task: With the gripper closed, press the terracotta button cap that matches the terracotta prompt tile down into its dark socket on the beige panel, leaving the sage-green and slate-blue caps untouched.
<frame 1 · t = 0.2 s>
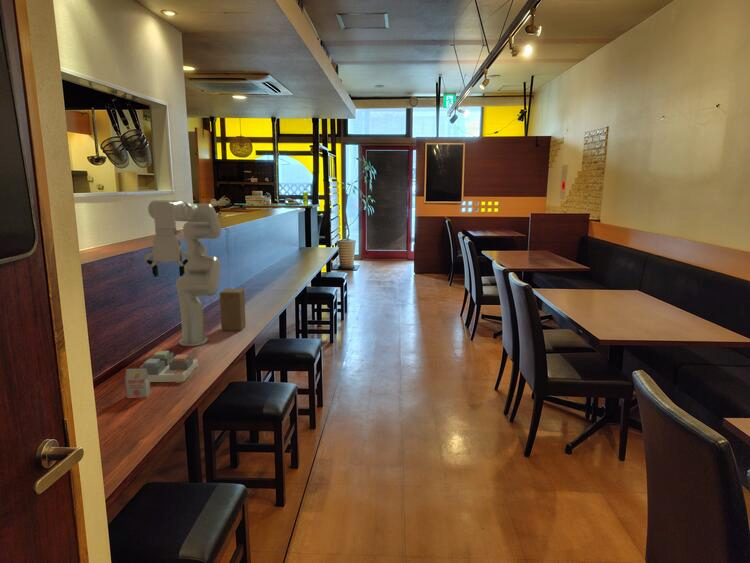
hand: (169, 276, 190), 36 cm above the table, tool pointing down, fingers open, 9 cm apart
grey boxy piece: (138, 396, 165), on the table
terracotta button: (181, 359, 183), point 6 cm above the table, slide at 0.0 cm
sage button: (161, 355, 187), point 6 cm above the table, slide at 0.0 cm
slate button: (152, 363, 178), point 6 cm above the table, slide at 0.0 cm
wooden block: (233, 328, 244), on the table
button panel: (170, 374, 184), on the table
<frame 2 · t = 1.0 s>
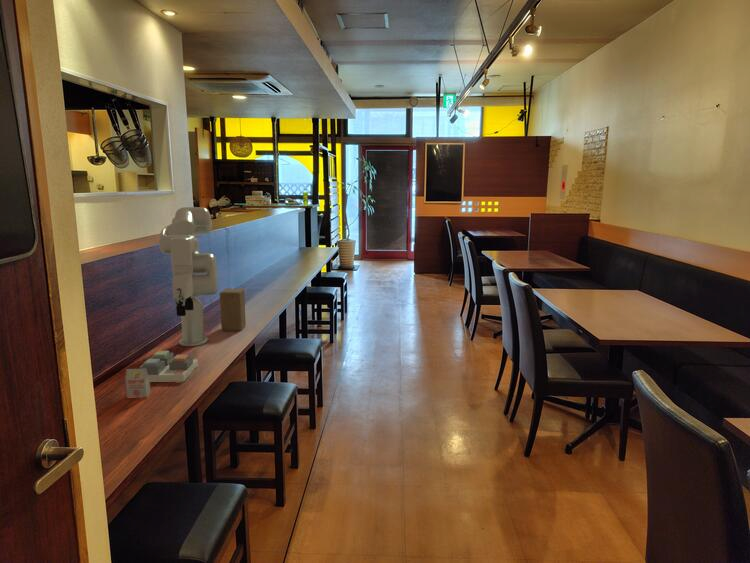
hand: (185, 312, 188), 22 cm above the table, tool pointing down, fingers open, 8 cm apart
nothing on the table moved.
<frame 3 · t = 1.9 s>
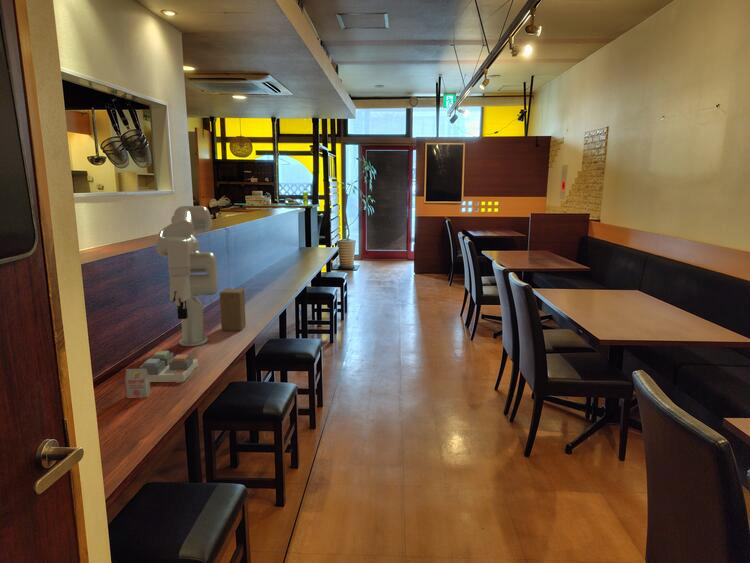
hand: (182, 318, 185), 21 cm above the table, tool pointing down, fingers closed
nothing on the table moved.
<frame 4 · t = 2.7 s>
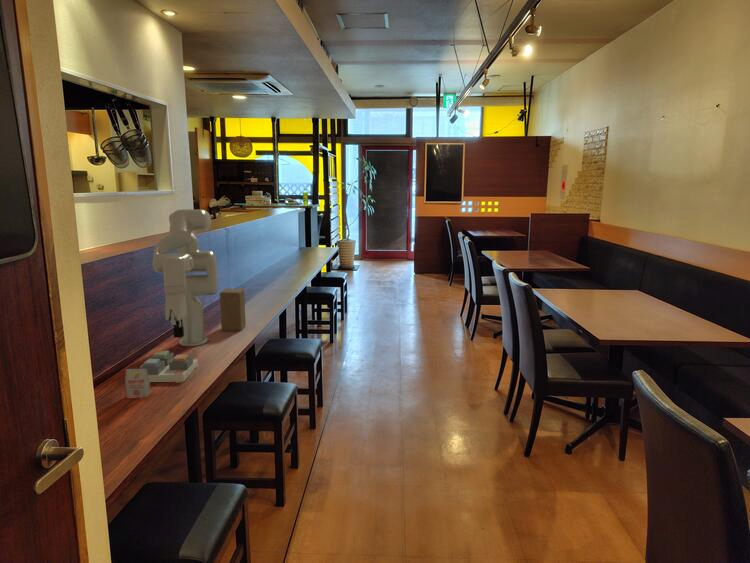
hand: (179, 336, 181), 15 cm above the table, tool pointing down, fingers closed
nothing on the table moved.
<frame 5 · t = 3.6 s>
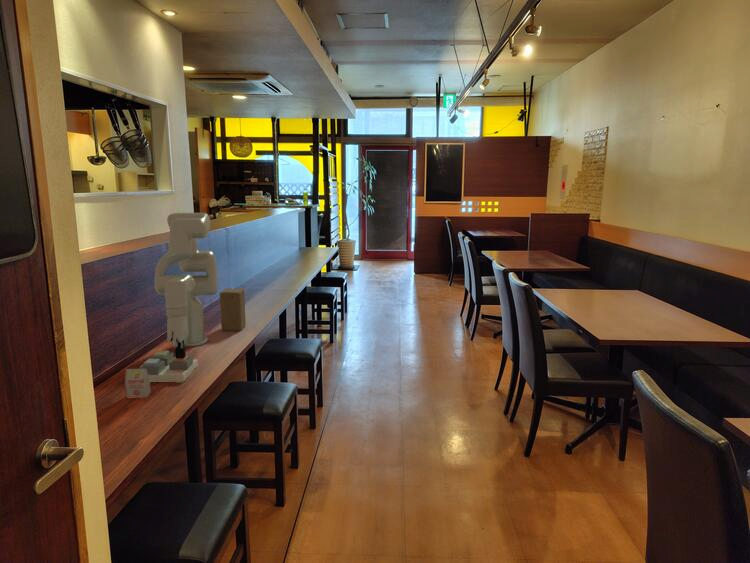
hand: (180, 357, 183), 7 cm above the table, tool pointing down, fingers closed
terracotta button: (181, 360, 183), point 6 cm above the table, slide at 0.4 cm, touching gripper
everything else where it was.
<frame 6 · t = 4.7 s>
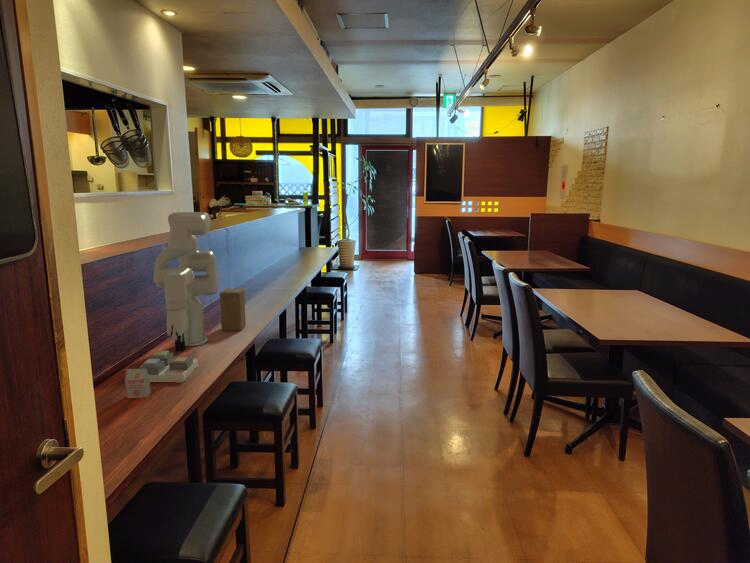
hand: (180, 350, 183), 9 cm above the table, tool pointing down, fingers closed
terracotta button: (181, 362, 183), point 5 cm above the table, slide at 1.1 cm
everything else where it was.
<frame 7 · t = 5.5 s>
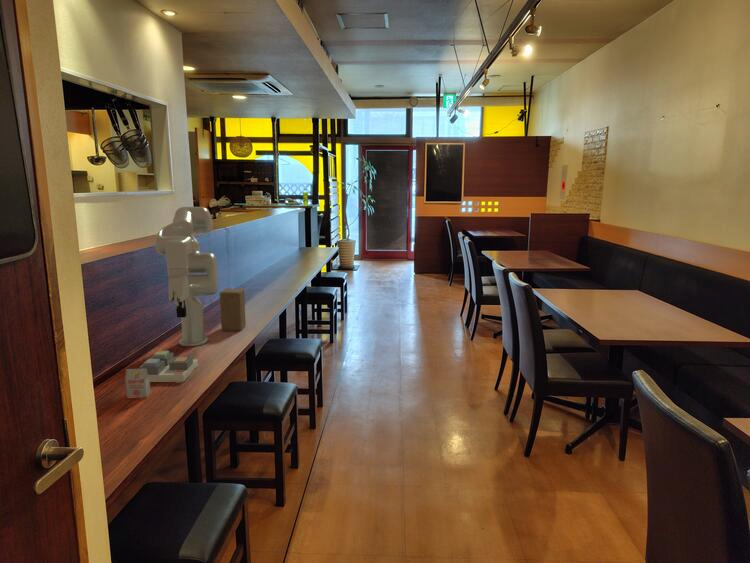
hand: (181, 316, 189), 21 cm above the table, tool pointing down, fingers closed
nothing on the table moved.
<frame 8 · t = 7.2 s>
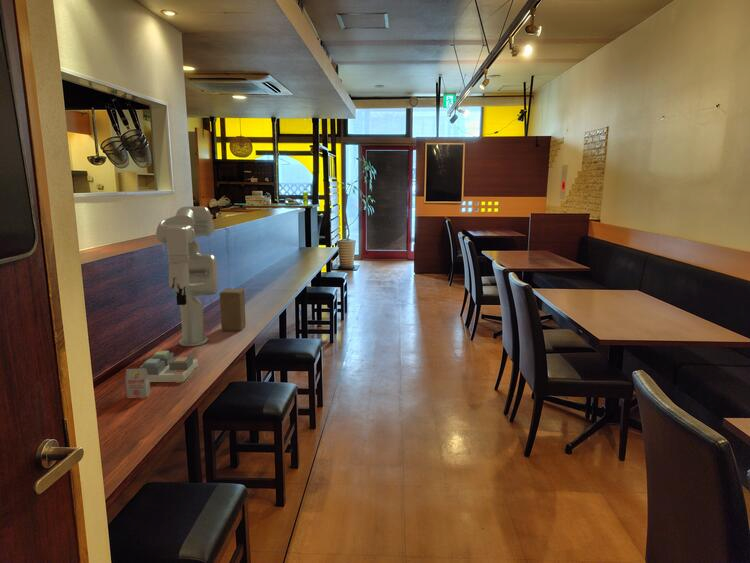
hand: (181, 304, 189), 25 cm above the table, tool pointing down, fingers closed
nothing on the table moved.
at the end: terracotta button slide at 1.1 cm; sage button slide at 0.0 cm; slate button slide at 0.0 cm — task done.
